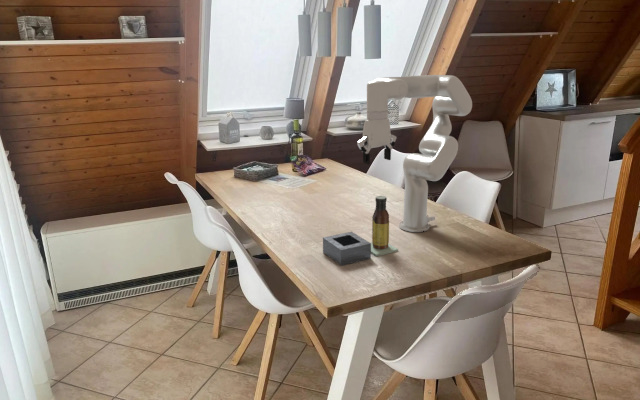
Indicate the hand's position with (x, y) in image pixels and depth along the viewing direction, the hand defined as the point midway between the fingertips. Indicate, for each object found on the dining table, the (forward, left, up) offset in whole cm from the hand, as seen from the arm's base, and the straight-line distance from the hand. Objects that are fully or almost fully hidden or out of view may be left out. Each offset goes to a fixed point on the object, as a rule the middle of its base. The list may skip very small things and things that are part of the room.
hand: (377, 161), depth 182 cm
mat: (+3, +7, -32) cm, 33 cm away
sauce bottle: (+2, +7, -32) cm, 32 cm away
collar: (+17, +6, -32) cm, 37 cm away
